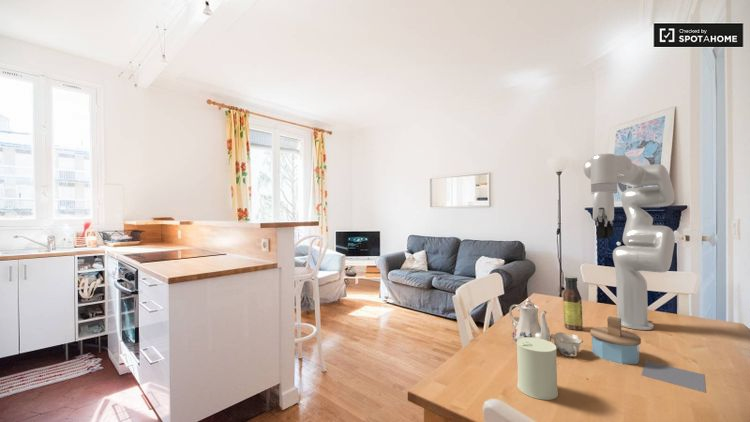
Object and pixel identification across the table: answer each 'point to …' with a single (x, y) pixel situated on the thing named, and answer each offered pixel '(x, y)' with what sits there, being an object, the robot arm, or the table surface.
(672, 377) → the mat
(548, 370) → the can
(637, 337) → the lid
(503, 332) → the table surface
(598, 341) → the bowl
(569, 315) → the sauce bottle
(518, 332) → the chinaware
